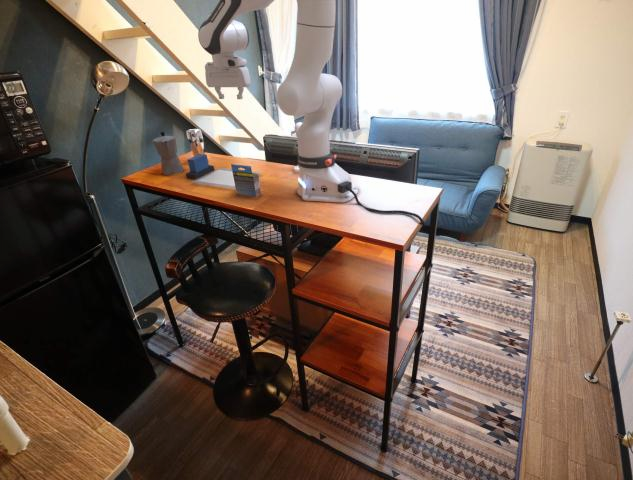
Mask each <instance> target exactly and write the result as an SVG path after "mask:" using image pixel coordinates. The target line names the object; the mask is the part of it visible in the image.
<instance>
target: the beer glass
mask: <svg viewBox="0 0 633 480" xmlns="http://www.w3.org/2000/svg"><path fill="white" fill-rule="evenodd" d="M185 133H186V139H187V142H188V146H189V148H190V150H191V153H192V157H194V156H197V155H199V154H205V142H204V137H203V133H202V130H201V128H192V129H187V130H186V131H185Z"/></svg>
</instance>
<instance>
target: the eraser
mask: <svg viewBox="0 0 633 480" xmlns="http://www.w3.org/2000/svg"><path fill="white" fill-rule="evenodd" d="M186 160H187V164H188V168H189V171H188V172H185V176H186V179H189V180H194V181H195V180H197V179H199V178H201V177H203V176H205V175H207V174H209V173H211V172H213V171H215V170H216V169H215V166H214V165H212V164H210V163H209V159H208V155H207V153H206V154H199V155H197V156H192V157H189V158H188V159H186Z"/></svg>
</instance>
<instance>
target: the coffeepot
mask: <svg viewBox="0 0 633 480" xmlns="http://www.w3.org/2000/svg"><path fill="white" fill-rule="evenodd" d="M152 143H153V145H154V146H155V149H156V151H157V155H159V156H160V158H161V159H160V163H161V164H160V165H161V173H162V175H163V176H173V175H176V174H180V173H183V172H184V167H183V164H182V162H181V160H180V158H179V156H178V155H177V153H178V146H177V138H176V136H173V135H165V131H161V132H160V136H158V137H155V138H154V139H153V140H152Z"/></svg>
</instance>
